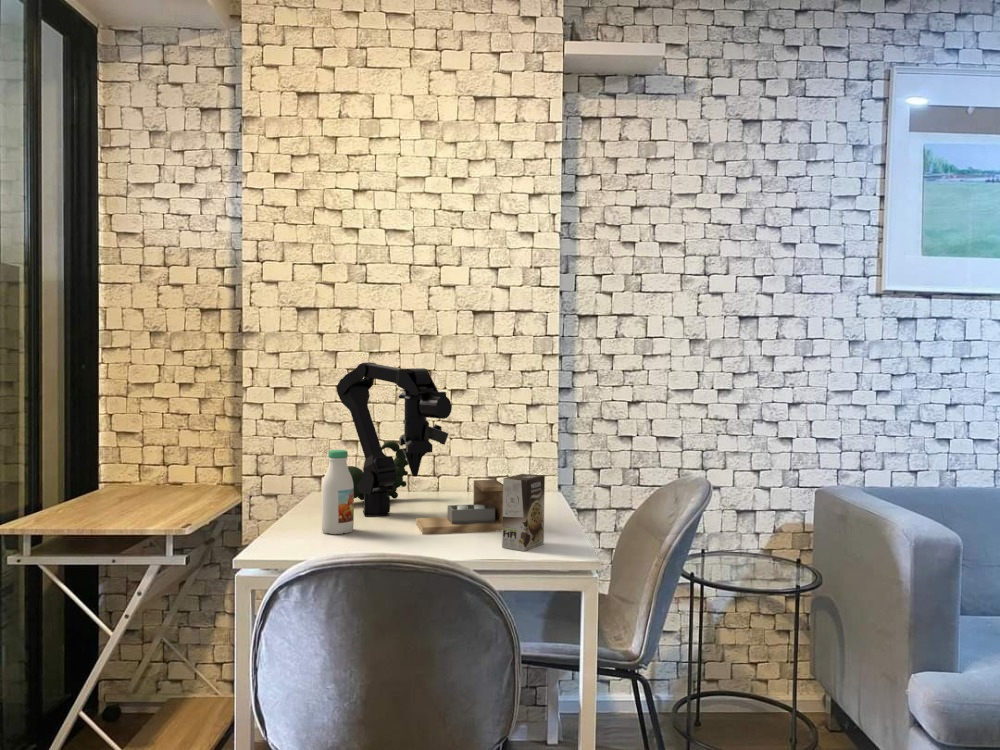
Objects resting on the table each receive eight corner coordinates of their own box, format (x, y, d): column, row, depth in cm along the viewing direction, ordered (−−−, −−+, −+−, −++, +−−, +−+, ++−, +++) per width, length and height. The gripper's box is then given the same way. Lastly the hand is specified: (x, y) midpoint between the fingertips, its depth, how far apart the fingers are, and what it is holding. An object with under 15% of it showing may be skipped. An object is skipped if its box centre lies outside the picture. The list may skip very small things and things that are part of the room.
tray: (451, 524, 196) (452, 509, 196) (447, 518, 202) (447, 504, 202) (494, 522, 198) (495, 507, 198) (489, 517, 205) (489, 502, 205)
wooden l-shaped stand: (422, 534, 192) (422, 489, 192) (416, 524, 202) (416, 481, 202) (505, 530, 197) (506, 486, 197) (495, 521, 208) (495, 479, 207)
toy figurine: (396, 502, 241) (316, 502, 228) (401, 440, 241) (323, 436, 229) (409, 507, 233) (327, 507, 220) (414, 443, 233) (333, 440, 220)
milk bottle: (326, 536, 189) (326, 453, 188) (318, 529, 195) (318, 449, 195) (357, 533, 192) (358, 451, 192) (348, 526, 199) (348, 448, 198)
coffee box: (525, 552, 176) (526, 480, 175) (501, 547, 179) (501, 477, 179) (545, 543, 184) (546, 474, 183) (521, 540, 187) (522, 472, 187)
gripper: (452, 419, 198) (452, 481, 198) (440, 413, 216) (439, 470, 216) (408, 419, 195) (407, 482, 195) (399, 413, 213) (398, 471, 213)
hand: (415, 476), depth 205 cm, fingers closed
